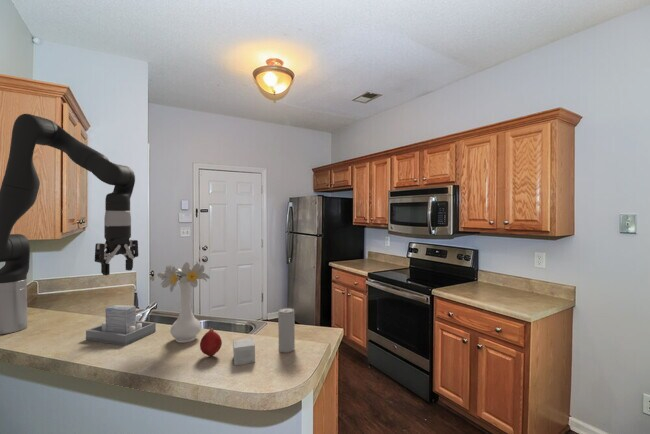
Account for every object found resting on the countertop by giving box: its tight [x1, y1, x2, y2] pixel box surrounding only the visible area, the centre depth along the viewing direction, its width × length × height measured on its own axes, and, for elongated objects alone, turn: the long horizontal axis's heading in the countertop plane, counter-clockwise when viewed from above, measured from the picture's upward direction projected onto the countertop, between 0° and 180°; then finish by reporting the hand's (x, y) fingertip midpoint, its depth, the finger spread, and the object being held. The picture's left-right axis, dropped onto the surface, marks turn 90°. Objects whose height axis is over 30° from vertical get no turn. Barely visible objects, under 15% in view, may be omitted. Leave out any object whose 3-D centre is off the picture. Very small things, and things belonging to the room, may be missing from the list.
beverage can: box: [277, 307, 296, 354], centre depth 96 cm, size 5×5×12 cm
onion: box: [199, 328, 223, 358], centre depth 92 cm, size 6×6×8 cm
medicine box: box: [105, 304, 137, 335], centre depth 107 cm, size 8×4×9 cm, turn 80°
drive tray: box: [85, 320, 157, 346], centre depth 107 cm, size 16×12×4 cm
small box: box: [232, 337, 256, 366], centre depth 90 cm, size 6×6×5 cm
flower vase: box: [157, 261, 211, 344], centre depth 104 cm, size 13×18×25 cm
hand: (117, 272), depth 108 cm, fingers open, 8 cm apart
